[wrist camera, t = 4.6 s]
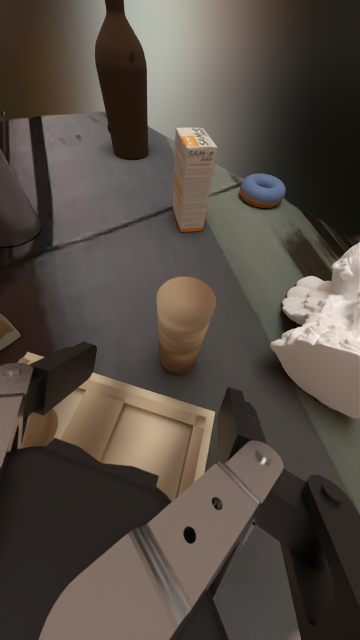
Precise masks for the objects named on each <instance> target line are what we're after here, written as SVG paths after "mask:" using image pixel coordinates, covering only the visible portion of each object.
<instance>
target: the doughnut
mask: <svg viewBox="0 0 360 640" xmlns="http://www.w3.org/2000/svg"><path fill="white" fill-rule="evenodd" d="M240 195H241V198H242V199H243V200H244V201H245V202H246V203H248V204H250V205H252V206H255V207H259V208H271V207H274V206H276V205H277V204H279V203H280V202H281V200H282V199H283V197H284V195H285V186H284V184H283V183H282V182H281V181H280V180H279V179H277V178H276V177H273V176H271V175H267V174H253V175H249V176H248V177H246V178H245V179H244V180H243V182H242V185H241V187H240Z"/></svg>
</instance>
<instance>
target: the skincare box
mask: <svg viewBox="0 0 360 640" xmlns="http://www.w3.org/2000/svg"><path fill="white" fill-rule="evenodd" d="M20 337H21V335H20V334H19V332H18V331H17V330H16V329H15V328H14V326H13V325H12V324H11V323H10V322H9V321H8V320H7V319H6V318H5V317H4V316H3V315H2V314H0V351H1V350H2V349H3V348H5V347H6V346H8V345H9V344H11V343H12V342H14V341H15V340H17V339H18V338H20Z"/></svg>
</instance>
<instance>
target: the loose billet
mask: <svg viewBox="0 0 360 640" xmlns="http://www.w3.org/2000/svg"><path fill="white" fill-rule="evenodd" d="M215 306H216V298H215V294H214V292H213V291H212V289H211V288H210V287H209V286H208V285H207V284H206V283H204V282H203V281H201V280H199V279H196V278H192V277H177V278H173V279H171V280H169V281H167V282H165V283H164V284H163V285H162V286H161V287H160V289H159V291H158V293H157V314H158V333H159V352H160V362H161V365H162V367H163V368H164V370H166V371H167V372H168V373H170V374H173V375H183V374H185V373H187V372H189V371H190V370H191V369H192V367H193V366H194V363H195V360H196V358H197V355H198V352H199V350H200V347H201V344H202V342H203V339H204V336H205V333H206V331H207V328H208V325H209V323H210V320H211V317H212V315H213V312H214V309H215Z"/></svg>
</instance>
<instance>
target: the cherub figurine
mask: <svg viewBox="0 0 360 640" xmlns="http://www.w3.org/2000/svg"><path fill="white" fill-rule="evenodd" d="M332 268H333V269H334V270H333V274H332V281H323V280H321V279H319V278H317V277H314V276H308V277H305V278H302V279H300V280H299V281H298V282H297V284H296V286H295V287H293V288H291V289H290V290H289V291H288V293H287V298H285V299H284V300H283V302H282V304H283V307H282V309H283V311H284V313H285V314H286V315H287V316H288V318H290V319H291V320H292V321H295V322H296V323H297V324H300V325H302V327H297V328H296V329H291V330H289V331H286V332H285V333H283V334H282V336H281V339H279V340H275V341H273V342H271V344H270V348H271V349H272V350H273V351H274V352H275V353H276V354H277V357H278V358H279V360H280V362H281V364H282V367H283V368H284V370H285V371H286V373H287V374H288V376H289V377H290V378H291V379H292V380H293V381H294V382H295V383H296V384H297V385H298V386H299V387H300V388H301V389H303V390H304V391H305V392H307V393H308V394H310V395H312V396H314V397H315V398H316V399H318V400H319V401H320V402H321V403H323V404H324V405H326V406H328V407H330V408H331V409H334V410H337V411H339V412H341V413H343V414H345V415H348V416H350V417H352V418H358V419H360V242H359V243H358V244H356V245H355V246H353V247H352V248H350V249H349V250H348V251H347V252H346V253H345V254H344V255H343V256H342V257H341V258H340V259H339V260H338V261H336V262H335V263H334V264H333V265H332Z"/></svg>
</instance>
